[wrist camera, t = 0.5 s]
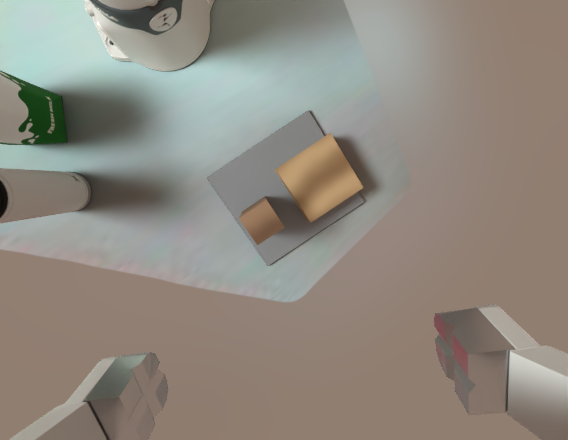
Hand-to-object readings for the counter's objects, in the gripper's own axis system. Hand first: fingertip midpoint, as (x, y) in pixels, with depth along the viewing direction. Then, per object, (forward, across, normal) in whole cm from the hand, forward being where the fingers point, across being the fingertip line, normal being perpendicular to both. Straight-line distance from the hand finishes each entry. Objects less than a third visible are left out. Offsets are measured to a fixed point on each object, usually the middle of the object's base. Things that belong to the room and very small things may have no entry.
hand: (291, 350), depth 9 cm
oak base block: (+44, -2, +4) cm, 44 cm away
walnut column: (+42, +8, +8) cm, 43 cm away
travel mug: (+39, +36, -2) cm, 53 cm away
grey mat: (+44, +3, +5) cm, 44 cm away
